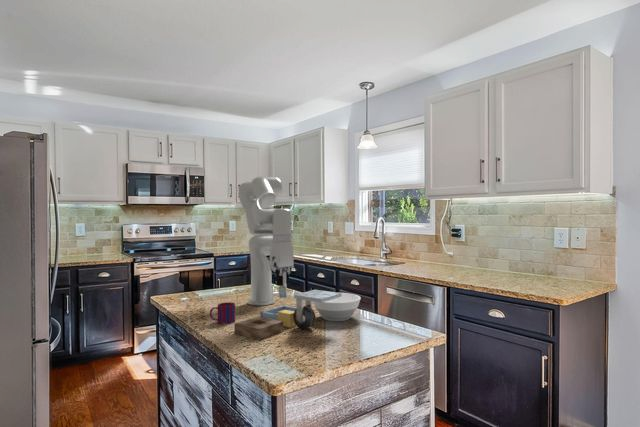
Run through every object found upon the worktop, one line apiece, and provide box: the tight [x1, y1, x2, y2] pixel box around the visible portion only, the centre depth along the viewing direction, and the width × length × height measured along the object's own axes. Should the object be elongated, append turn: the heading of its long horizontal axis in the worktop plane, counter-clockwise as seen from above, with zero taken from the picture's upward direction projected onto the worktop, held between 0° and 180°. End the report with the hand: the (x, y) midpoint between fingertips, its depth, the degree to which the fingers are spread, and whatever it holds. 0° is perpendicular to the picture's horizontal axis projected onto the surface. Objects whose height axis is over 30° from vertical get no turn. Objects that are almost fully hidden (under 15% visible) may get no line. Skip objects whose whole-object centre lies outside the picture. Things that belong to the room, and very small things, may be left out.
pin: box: [278, 267, 288, 299], centre depth 164 cm, size 4×4×12 cm
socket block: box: [234, 316, 284, 340], centre depth 143 cm, size 12×12×4 cm
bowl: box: [312, 292, 362, 322], centre depth 162 cm, size 19×19×8 cm
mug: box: [209, 301, 236, 325], centre depth 157 cm, size 7×10×7 cm
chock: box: [278, 310, 296, 328], centre depth 153 cm, size 4×6×5 cm, turn 53°
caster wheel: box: [293, 289, 342, 331], centre depth 146 cm, size 12×16×13 cm
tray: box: [260, 304, 296, 320], centre depth 165 cm, size 14×11×2 cm
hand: (282, 284), depth 164 cm, fingers closed on pin, 3 cm apart
